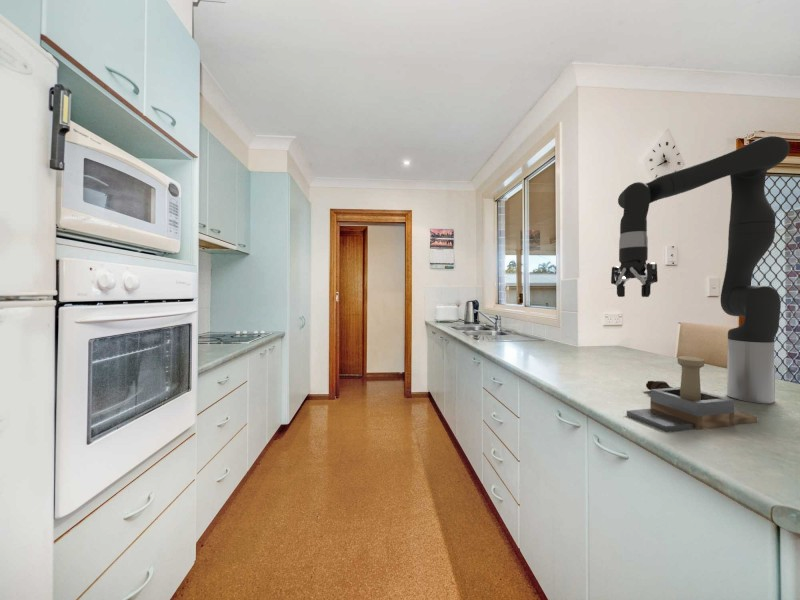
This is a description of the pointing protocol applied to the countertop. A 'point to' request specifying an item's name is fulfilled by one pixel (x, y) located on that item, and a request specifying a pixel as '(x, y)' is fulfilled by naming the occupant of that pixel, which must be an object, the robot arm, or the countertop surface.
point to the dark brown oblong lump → (657, 385)
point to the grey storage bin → (681, 409)
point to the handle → (690, 377)
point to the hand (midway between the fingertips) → (632, 296)
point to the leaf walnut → (707, 417)
